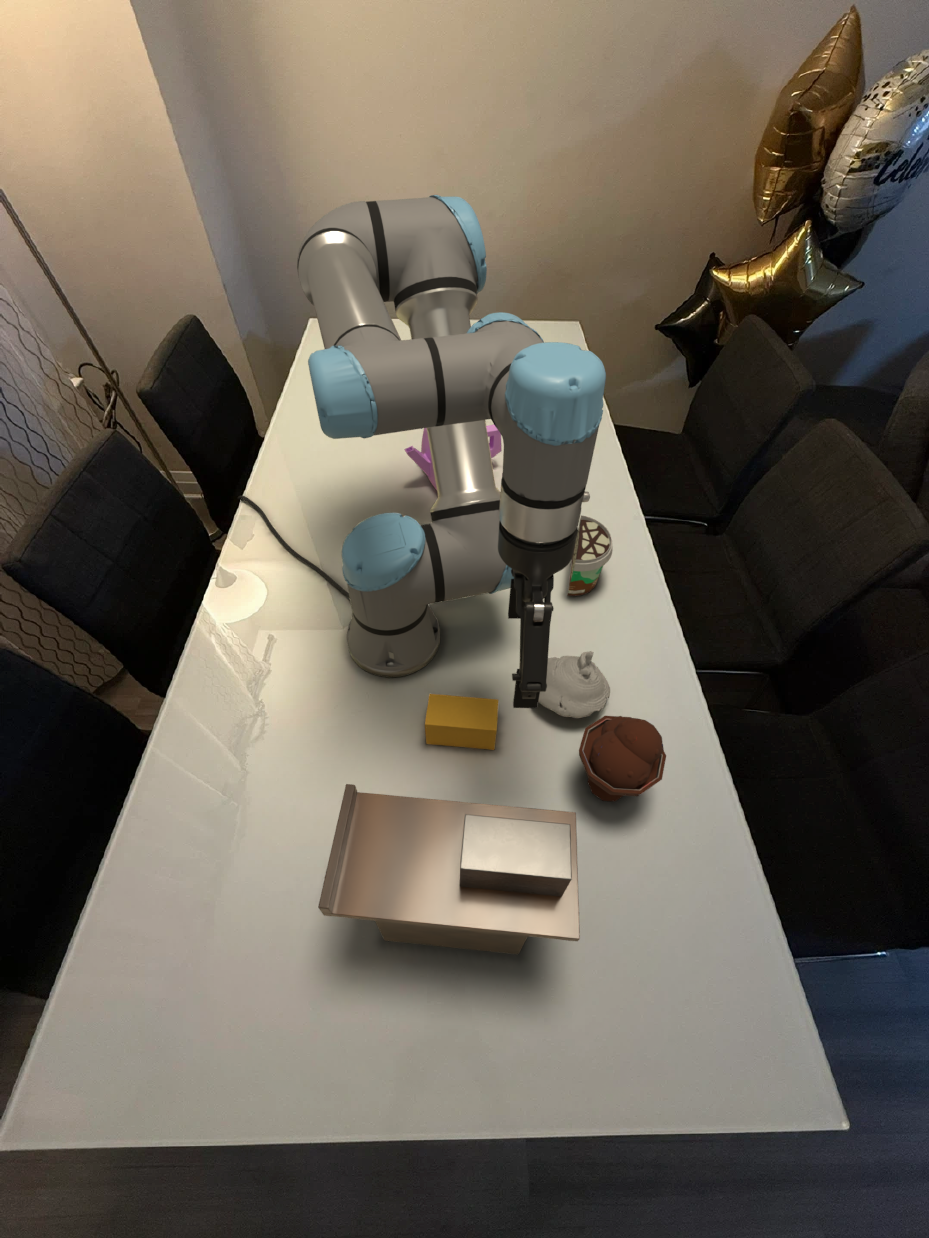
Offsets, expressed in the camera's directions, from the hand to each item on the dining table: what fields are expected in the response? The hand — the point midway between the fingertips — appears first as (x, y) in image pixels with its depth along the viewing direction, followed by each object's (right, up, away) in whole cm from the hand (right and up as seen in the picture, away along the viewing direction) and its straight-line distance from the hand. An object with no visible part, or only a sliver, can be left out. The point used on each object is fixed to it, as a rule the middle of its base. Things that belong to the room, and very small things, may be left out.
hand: (521, 658), depth 71 cm
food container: (+15, +12, +35) cm, 40 cm away
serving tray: (-8, -30, +1) cm, 31 cm away
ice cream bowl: (+13, -18, +11) cm, 25 cm away
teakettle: (-9, +36, +54) cm, 66 cm away
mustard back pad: (-7, -12, +15) cm, 21 cm away
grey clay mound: (+9, -7, +20) cm, 23 cm away
